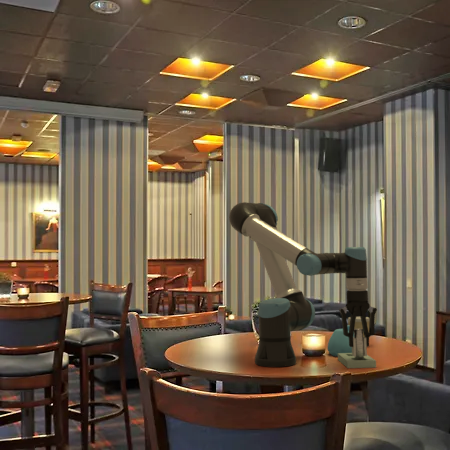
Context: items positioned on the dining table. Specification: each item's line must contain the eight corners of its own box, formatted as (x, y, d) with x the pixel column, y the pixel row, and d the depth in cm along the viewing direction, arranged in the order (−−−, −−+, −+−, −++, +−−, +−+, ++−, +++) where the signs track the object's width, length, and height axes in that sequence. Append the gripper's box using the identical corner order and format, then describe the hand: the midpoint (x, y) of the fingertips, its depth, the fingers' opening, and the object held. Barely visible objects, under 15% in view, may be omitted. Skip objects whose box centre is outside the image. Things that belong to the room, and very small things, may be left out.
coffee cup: (375, 346, 254) (374, 317, 254) (360, 348, 249) (359, 319, 249) (359, 343, 262) (358, 316, 262) (343, 345, 256) (343, 317, 257)
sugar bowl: (337, 350, 246) (336, 322, 247) (372, 353, 238) (371, 324, 238) (321, 356, 234) (320, 326, 235) (357, 359, 225) (356, 328, 226)
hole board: (348, 368, 209) (347, 361, 209) (337, 359, 225) (337, 353, 225) (376, 367, 210) (376, 360, 210) (364, 359, 226) (363, 352, 226)
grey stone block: (356, 366, 212) (355, 330, 212) (354, 365, 215) (352, 328, 215) (365, 366, 212) (364, 329, 212) (362, 364, 215) (361, 328, 215)
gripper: (336, 291, 210) (339, 358, 209) (382, 289, 211) (385, 356, 210) (332, 289, 218) (334, 354, 217) (376, 288, 218) (378, 353, 217)
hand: (359, 355), depth 213 cm, fingers closed on grey stone block, 3 cm apart
